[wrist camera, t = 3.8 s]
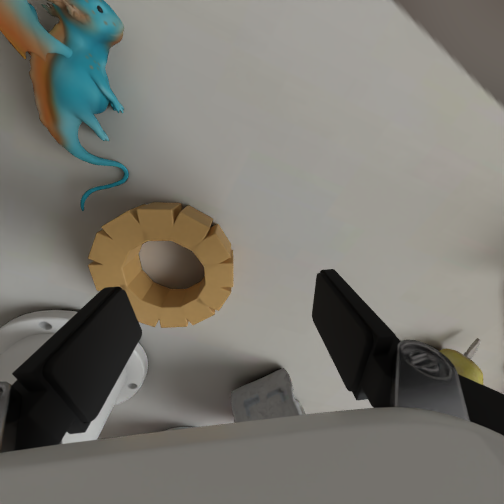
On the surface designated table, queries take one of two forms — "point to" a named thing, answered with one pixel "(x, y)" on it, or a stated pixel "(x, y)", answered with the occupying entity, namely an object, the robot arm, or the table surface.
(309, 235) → the table surface
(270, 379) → the incense holder
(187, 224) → the segmented wooden ring
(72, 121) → the dragon figurine
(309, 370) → the table surface
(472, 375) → the fruit
